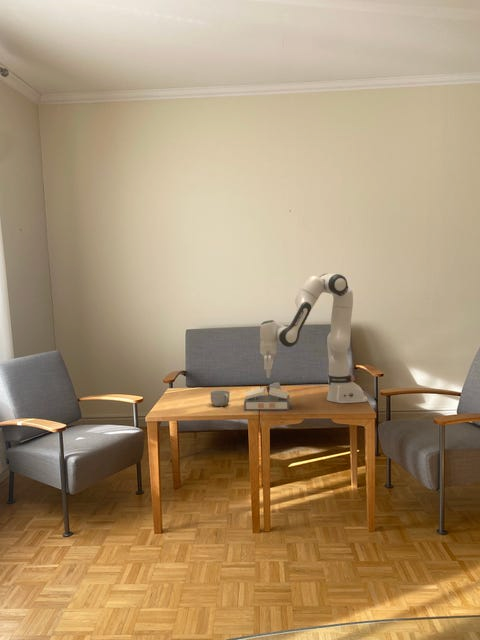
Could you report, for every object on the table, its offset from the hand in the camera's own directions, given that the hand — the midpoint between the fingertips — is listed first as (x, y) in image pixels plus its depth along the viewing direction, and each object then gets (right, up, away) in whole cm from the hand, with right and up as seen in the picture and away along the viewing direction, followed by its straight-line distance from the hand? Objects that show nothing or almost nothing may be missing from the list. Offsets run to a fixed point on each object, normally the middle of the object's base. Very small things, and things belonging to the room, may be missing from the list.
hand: (268, 375), depth 299 cm
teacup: (-26, -18, +9) cm, 33 cm away
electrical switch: (+4, -16, +21) cm, 27 cm away
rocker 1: (-7, -10, +2) cm, 12 cm away
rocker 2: (+5, -10, 0) cm, 11 cm away
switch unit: (-1, -17, +2) cm, 17 cm away
